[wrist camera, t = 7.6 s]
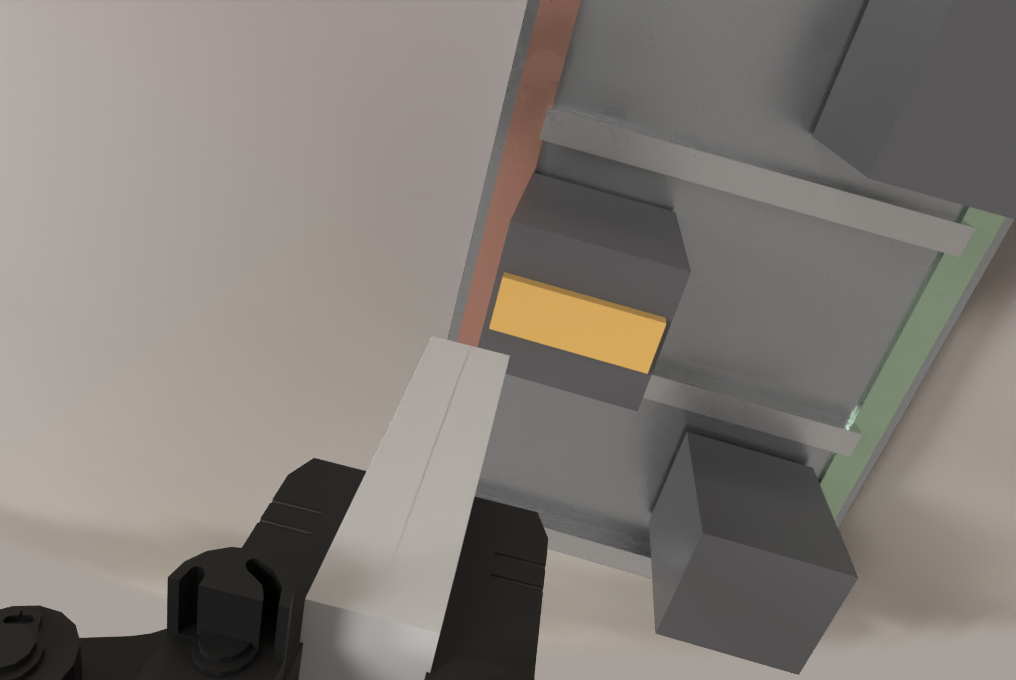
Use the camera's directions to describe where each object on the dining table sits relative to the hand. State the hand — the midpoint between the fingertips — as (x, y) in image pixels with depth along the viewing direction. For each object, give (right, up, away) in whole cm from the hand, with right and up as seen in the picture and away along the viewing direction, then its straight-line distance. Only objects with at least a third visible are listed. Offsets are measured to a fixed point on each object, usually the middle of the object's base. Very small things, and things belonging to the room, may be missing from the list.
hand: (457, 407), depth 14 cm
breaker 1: (+4, +4, +12) cm, 13 cm away
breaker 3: (+14, +9, +8) cm, 18 cm away
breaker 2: (+10, -5, +15) cm, 19 cm away
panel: (+8, +4, +14) cm, 17 cm away
